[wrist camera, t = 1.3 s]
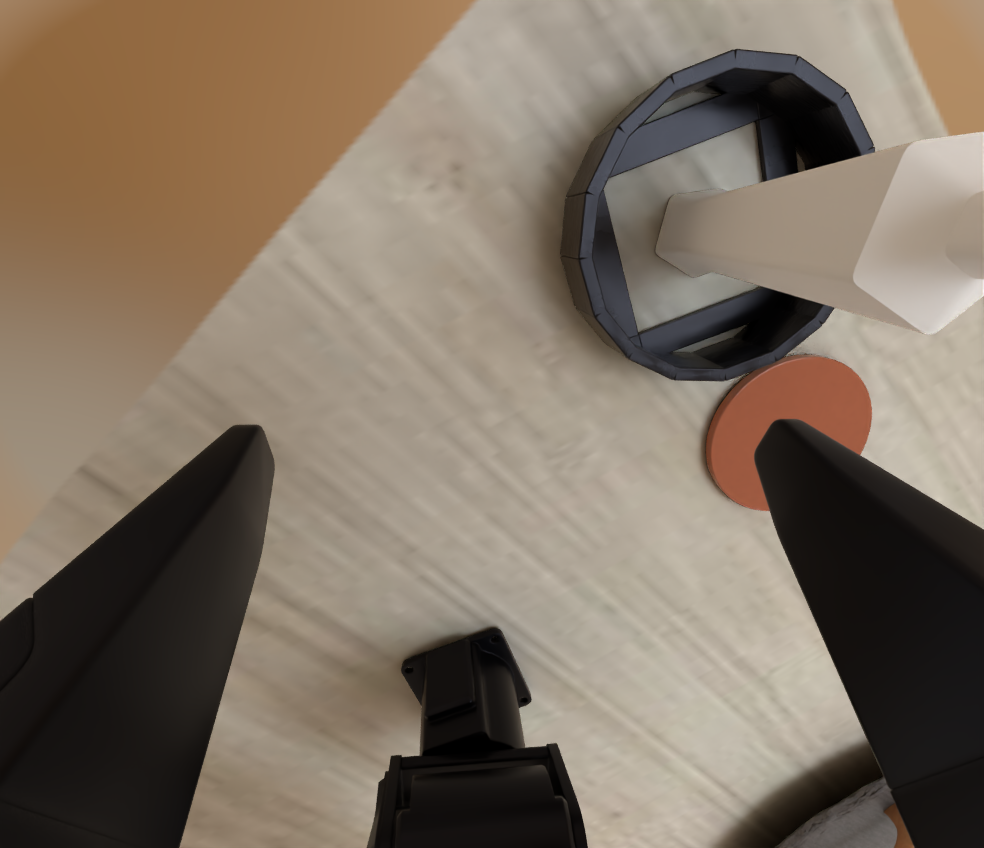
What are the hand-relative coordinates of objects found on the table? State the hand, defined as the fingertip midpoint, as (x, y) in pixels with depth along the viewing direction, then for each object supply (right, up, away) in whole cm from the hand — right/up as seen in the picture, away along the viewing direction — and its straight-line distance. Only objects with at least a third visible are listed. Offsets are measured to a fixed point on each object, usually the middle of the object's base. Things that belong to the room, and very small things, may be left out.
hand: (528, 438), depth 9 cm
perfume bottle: (+9, +9, +14) cm, 19 cm away
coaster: (+15, 0, +18) cm, 24 cm away
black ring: (+9, +9, +14) cm, 19 cm away
